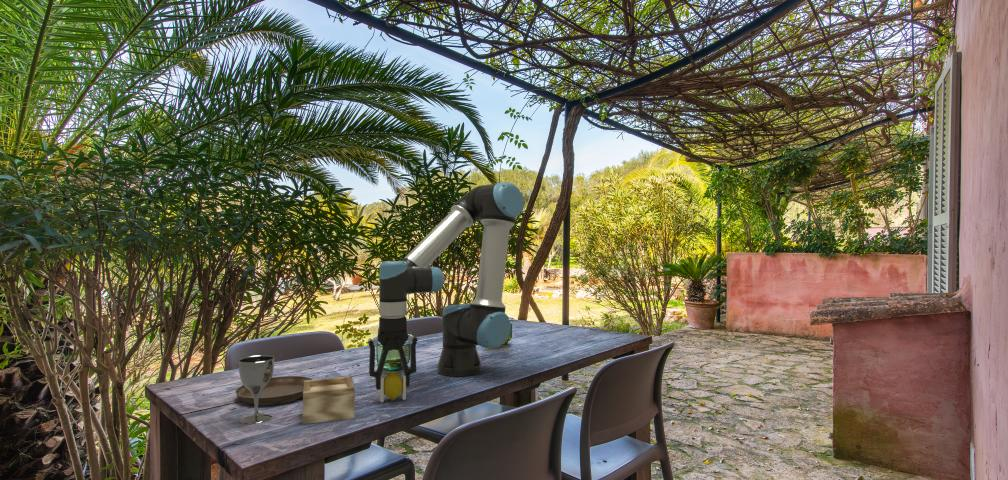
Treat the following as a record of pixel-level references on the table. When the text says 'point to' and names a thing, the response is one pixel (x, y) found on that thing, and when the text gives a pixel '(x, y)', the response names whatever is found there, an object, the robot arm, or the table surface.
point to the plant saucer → (276, 391)
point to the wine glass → (256, 381)
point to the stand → (328, 399)
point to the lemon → (393, 385)
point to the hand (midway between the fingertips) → (392, 399)
